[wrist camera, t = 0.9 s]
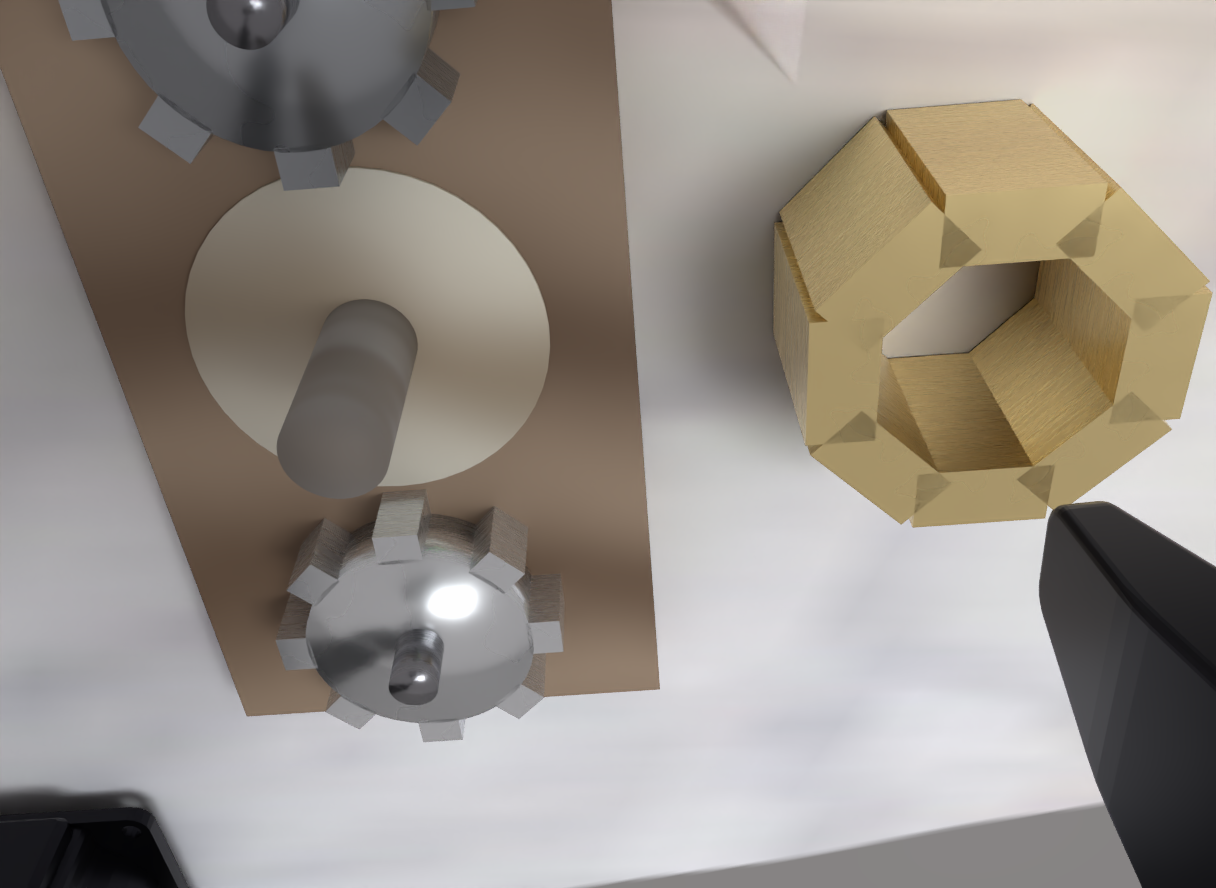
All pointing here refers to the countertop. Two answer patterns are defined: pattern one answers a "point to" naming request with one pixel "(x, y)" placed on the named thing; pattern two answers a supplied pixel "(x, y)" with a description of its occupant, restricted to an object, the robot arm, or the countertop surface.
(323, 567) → the gear
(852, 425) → the tan hollow octagonal ring
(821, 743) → the countertop surface
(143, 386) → the gear board
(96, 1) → the gear
